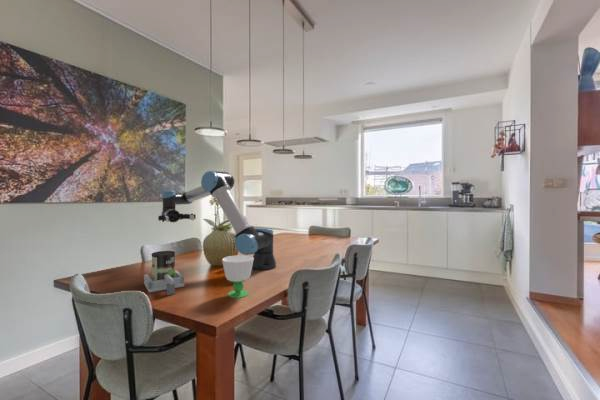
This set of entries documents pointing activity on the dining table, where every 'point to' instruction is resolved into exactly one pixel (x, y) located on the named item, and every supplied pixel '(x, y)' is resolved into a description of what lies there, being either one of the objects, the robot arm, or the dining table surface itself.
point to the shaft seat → (164, 283)
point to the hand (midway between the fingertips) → (180, 218)
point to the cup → (237, 273)
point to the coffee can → (163, 264)
